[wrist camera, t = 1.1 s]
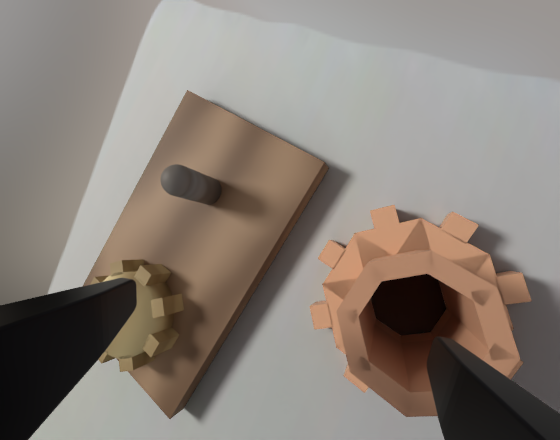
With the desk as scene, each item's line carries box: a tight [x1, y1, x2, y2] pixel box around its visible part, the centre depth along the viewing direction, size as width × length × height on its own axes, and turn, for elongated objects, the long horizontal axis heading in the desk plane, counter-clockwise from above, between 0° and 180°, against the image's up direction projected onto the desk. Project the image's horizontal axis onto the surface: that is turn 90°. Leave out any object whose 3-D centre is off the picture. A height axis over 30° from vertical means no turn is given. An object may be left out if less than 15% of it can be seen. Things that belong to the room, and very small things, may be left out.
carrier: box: [83, 90, 329, 419], centre depth 20 cm, size 13×21×6 cm, turn 146°
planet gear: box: [310, 205, 532, 417], centre depth 14 cm, size 11×11×8 cm
